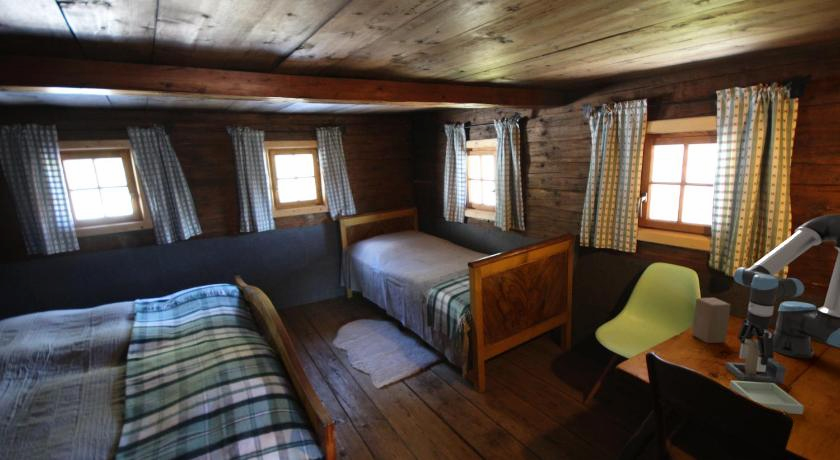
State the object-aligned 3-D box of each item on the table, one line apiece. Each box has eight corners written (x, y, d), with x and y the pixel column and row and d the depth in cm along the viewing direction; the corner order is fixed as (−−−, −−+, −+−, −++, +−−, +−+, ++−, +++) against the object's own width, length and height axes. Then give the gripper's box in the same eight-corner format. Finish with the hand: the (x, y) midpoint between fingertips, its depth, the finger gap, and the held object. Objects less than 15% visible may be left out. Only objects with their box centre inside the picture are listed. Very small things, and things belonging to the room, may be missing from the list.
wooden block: (690, 334, 193) (695, 297, 189) (709, 333, 194) (714, 296, 190) (707, 344, 183) (712, 305, 179) (726, 343, 184) (731, 304, 180)
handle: (760, 381, 153) (766, 346, 150) (739, 375, 157) (745, 342, 154) (760, 375, 156) (765, 342, 154) (739, 370, 160) (744, 337, 158)
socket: (764, 369, 160) (767, 354, 159) (785, 385, 150) (788, 368, 149) (725, 367, 163) (727, 352, 161) (742, 382, 152) (745, 366, 151)
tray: (772, 390, 147) (773, 383, 146) (802, 414, 133) (803, 406, 132) (729, 387, 149) (730, 380, 148) (754, 410, 135) (755, 402, 135)
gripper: (731, 302, 163) (724, 350, 167) (770, 324, 141) (761, 379, 145) (751, 303, 162) (743, 351, 166) (792, 325, 140) (783, 380, 144)
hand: (751, 364), depth 156 cm, fingers open, 9 cm apart
